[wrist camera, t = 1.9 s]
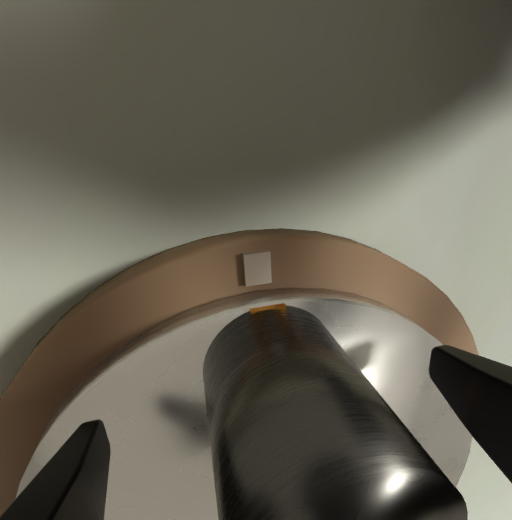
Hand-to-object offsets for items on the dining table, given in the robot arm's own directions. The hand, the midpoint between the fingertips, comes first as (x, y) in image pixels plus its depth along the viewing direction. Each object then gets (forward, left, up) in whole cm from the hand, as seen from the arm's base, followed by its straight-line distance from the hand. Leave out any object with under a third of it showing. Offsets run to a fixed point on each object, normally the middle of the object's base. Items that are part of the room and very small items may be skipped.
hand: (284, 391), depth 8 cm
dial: (0, +7, -2) cm, 7 cm away
